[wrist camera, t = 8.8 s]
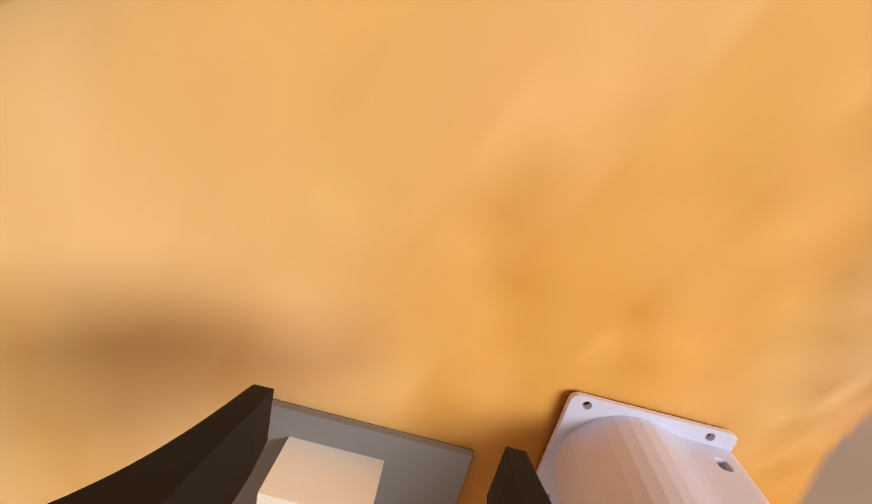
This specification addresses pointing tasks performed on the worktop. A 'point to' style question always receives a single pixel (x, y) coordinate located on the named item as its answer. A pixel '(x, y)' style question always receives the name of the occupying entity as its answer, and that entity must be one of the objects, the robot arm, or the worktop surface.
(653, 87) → the worktop surface
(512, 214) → the worktop surface
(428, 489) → the mat
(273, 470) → the off-white block
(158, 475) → the robot arm
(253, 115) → the worktop surface
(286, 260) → the worktop surface
